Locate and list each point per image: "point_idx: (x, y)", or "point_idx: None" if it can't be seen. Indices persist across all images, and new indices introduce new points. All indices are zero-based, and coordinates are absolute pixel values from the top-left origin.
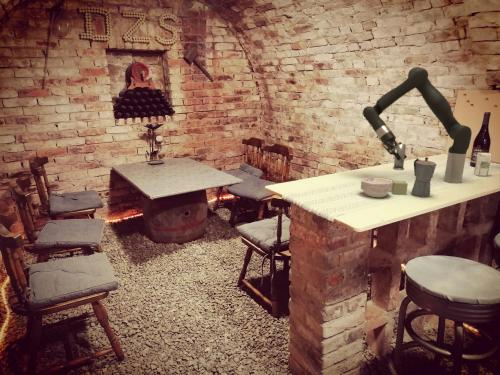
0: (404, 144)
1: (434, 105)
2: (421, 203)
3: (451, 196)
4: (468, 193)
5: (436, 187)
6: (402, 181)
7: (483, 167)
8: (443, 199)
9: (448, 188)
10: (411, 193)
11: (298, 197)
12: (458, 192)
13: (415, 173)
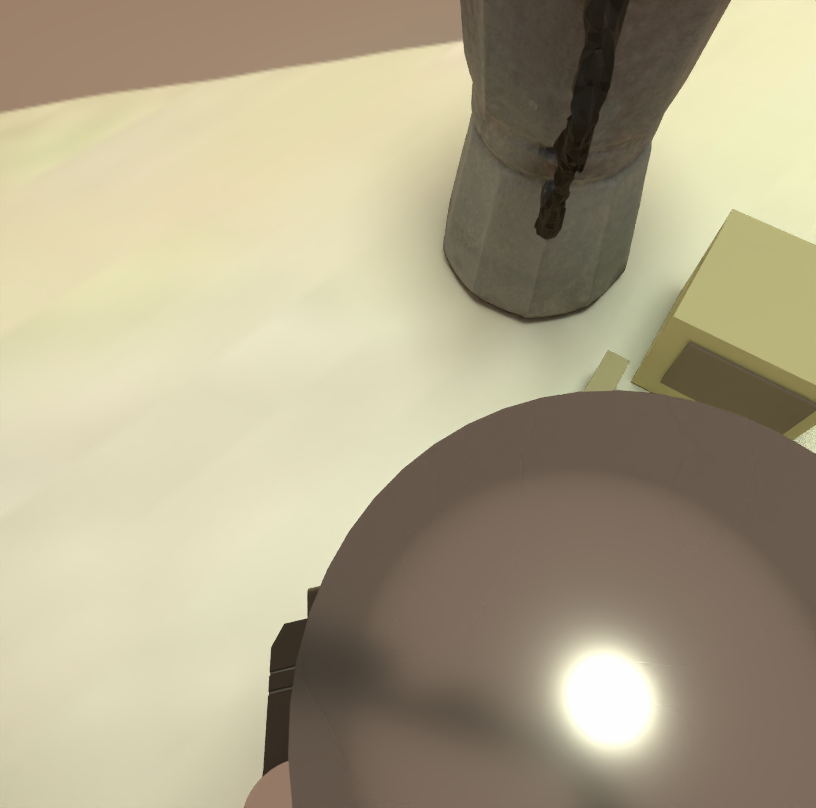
0: (414, 584)
1: None
2: (730, 69)
3: (285, 123)
4: (40, 138)
5: (92, 392)
6: (726, 310)
7: None
8: (441, 88)
9: (17, 317)
10: (613, 282)
11: None
12: (88, 186)
13: (670, 98)
